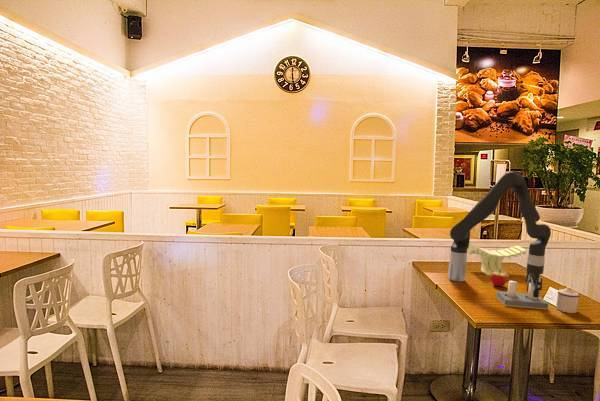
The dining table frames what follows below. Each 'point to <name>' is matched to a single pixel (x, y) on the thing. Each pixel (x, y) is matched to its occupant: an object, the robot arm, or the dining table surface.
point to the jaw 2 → (531, 292)
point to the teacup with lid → (567, 300)
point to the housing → (522, 301)
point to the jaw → (512, 289)
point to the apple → (498, 278)
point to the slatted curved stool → (494, 257)
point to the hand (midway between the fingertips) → (532, 294)
